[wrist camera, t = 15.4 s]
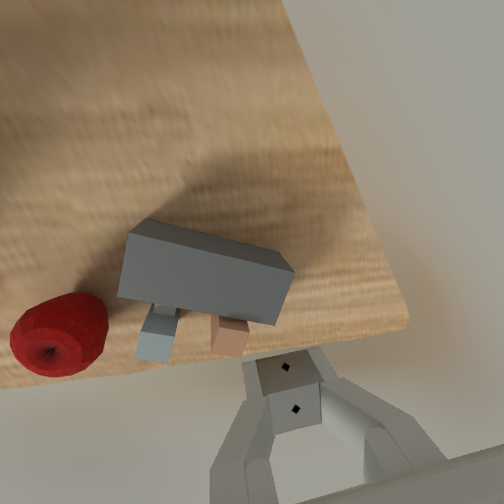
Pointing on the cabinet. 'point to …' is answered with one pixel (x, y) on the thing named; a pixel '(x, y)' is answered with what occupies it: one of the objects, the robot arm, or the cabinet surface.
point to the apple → (61, 335)
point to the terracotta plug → (228, 335)
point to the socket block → (203, 273)
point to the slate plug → (157, 333)
